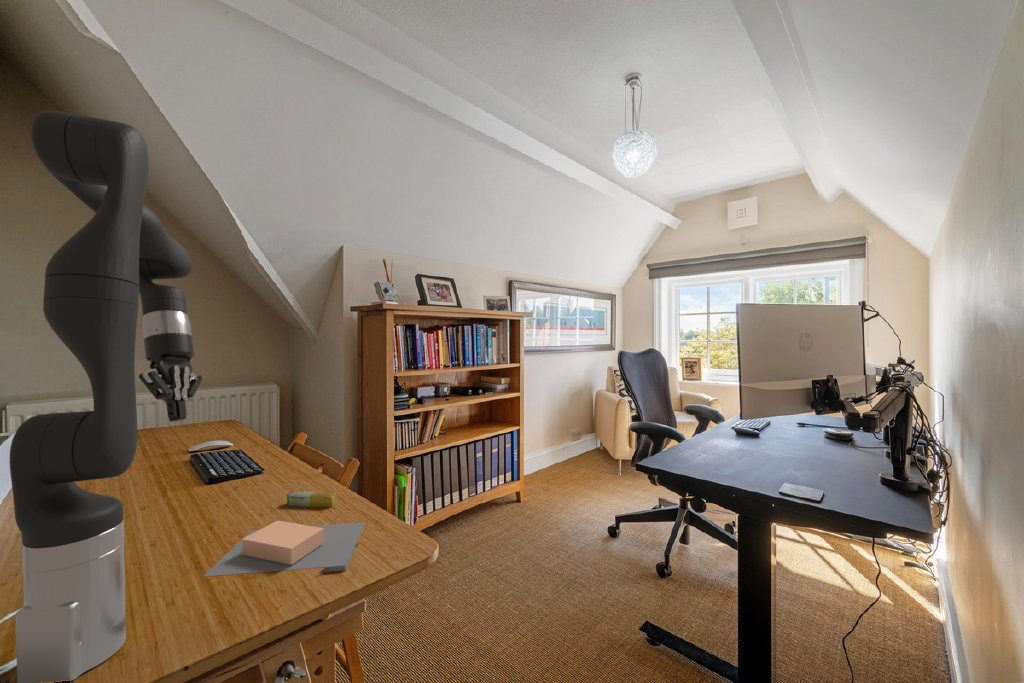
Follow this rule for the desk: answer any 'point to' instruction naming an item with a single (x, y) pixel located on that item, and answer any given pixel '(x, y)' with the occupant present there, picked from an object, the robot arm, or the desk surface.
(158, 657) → the desk surface
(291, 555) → the salmon pink box
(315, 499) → the medication box
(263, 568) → the slate mat
